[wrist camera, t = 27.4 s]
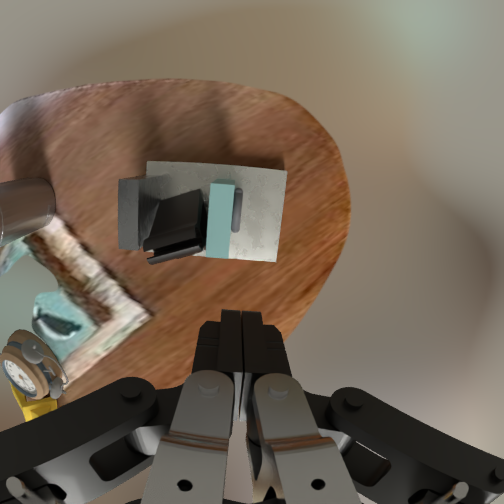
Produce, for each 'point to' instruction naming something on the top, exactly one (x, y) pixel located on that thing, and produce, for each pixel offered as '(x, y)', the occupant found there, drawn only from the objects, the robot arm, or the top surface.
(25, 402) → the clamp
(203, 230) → the phone stand
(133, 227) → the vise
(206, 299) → the top surface
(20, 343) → the alarm clock
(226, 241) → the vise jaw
